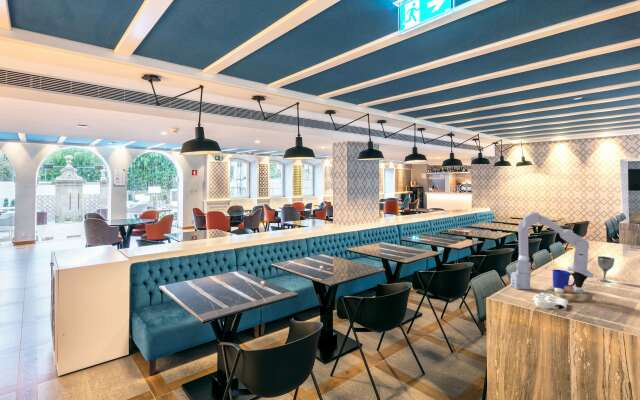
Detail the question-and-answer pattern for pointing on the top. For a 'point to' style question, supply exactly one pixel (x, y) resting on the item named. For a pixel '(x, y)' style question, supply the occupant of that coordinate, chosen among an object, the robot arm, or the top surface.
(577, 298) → the wooden compartment tray
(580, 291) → the pale blue rounded lump
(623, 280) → the top surface
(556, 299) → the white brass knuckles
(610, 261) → the wine glass
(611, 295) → the top surface
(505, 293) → the top surface
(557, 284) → the mug
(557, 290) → the pale grey rounded piece
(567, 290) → the pink egg
